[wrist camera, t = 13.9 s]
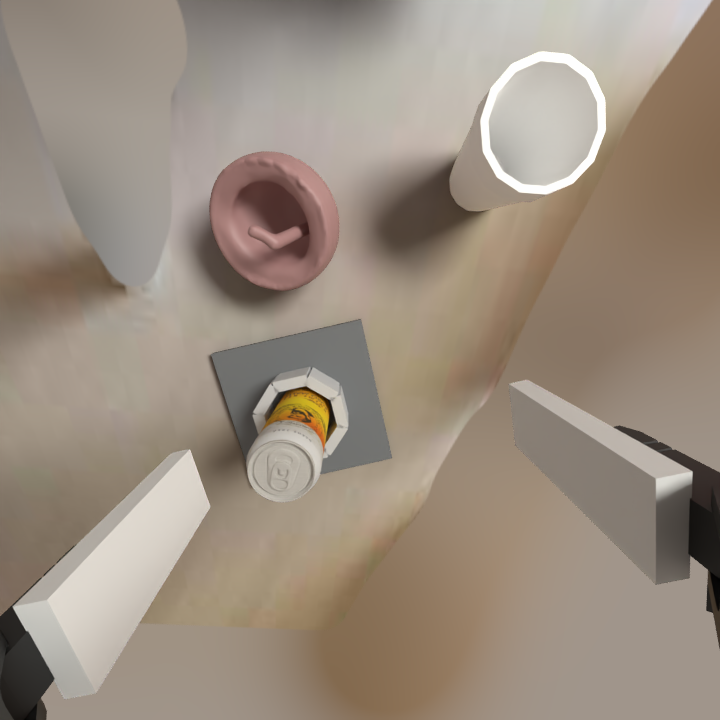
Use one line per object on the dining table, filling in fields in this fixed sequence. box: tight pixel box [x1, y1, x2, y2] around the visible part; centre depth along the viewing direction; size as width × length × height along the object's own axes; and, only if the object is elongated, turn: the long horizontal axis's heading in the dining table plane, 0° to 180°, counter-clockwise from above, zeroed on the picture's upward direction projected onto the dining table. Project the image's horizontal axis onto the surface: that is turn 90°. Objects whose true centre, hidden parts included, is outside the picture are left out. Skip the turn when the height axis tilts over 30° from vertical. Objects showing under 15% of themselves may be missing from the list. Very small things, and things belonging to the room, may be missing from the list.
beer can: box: [246, 386, 330, 502], centre depth 34 cm, size 6×6×15 cm
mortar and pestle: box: [209, 152, 339, 291], centre depth 32 cm, size 12×12×12 cm
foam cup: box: [449, 51, 606, 212], centre depth 31 cm, size 10×9×13 cm
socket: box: [211, 319, 392, 474], centre depth 40 cm, size 18×18×5 cm
